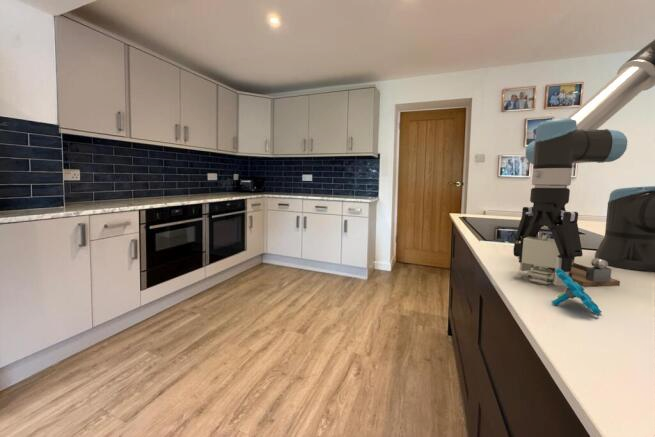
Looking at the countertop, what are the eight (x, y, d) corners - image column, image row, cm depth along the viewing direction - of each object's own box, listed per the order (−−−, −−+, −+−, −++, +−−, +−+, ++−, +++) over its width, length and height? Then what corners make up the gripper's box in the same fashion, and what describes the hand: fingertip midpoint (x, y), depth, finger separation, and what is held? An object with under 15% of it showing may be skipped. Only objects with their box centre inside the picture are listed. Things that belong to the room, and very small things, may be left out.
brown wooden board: (553, 264, 91) (554, 257, 91) (619, 285, 73) (620, 276, 72) (524, 264, 91) (524, 257, 90) (582, 286, 72) (583, 278, 72)
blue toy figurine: (606, 316, 53) (560, 268, 57) (573, 332, 55) (531, 285, 60) (603, 305, 61) (563, 264, 66) (574, 319, 64) (537, 279, 68)
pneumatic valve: (568, 291, 69) (573, 239, 68) (510, 279, 77) (514, 233, 76) (572, 285, 73) (577, 236, 71) (517, 274, 81) (520, 230, 80)
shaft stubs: (546, 260, 91) (547, 243, 90) (610, 281, 72) (612, 260, 72) (532, 260, 91) (534, 243, 90) (593, 281, 72) (595, 260, 71)
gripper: (503, 186, 83) (497, 264, 86) (579, 187, 60) (568, 294, 63) (529, 186, 84) (522, 264, 86) (613, 188, 61) (601, 293, 64)
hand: (541, 277), depth 75 cm, fingers closed on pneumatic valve, 10 cm apart
